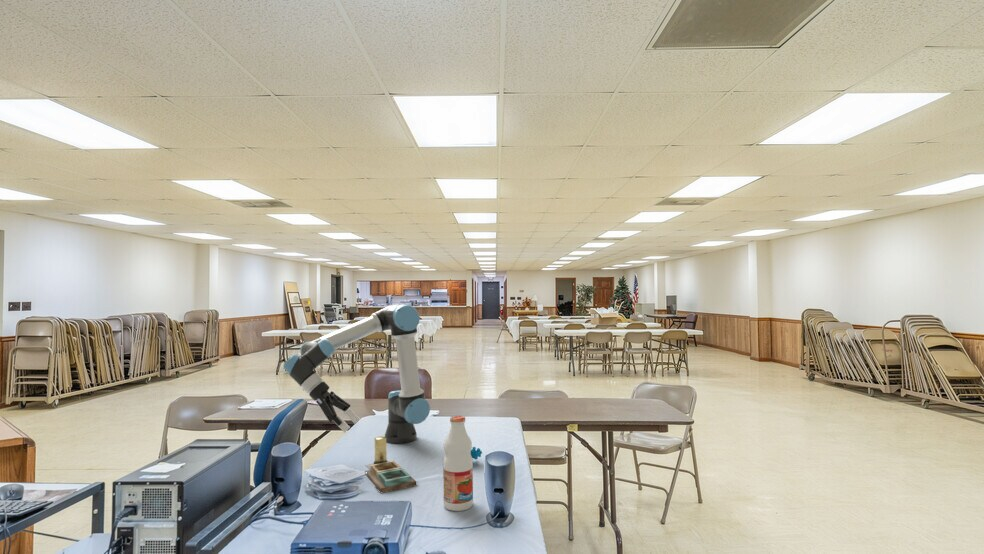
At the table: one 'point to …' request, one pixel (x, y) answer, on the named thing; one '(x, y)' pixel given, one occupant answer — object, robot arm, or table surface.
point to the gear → (475, 453)
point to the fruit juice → (458, 467)
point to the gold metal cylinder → (380, 450)
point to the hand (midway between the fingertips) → (352, 425)
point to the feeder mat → (371, 464)
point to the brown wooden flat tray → (389, 476)
